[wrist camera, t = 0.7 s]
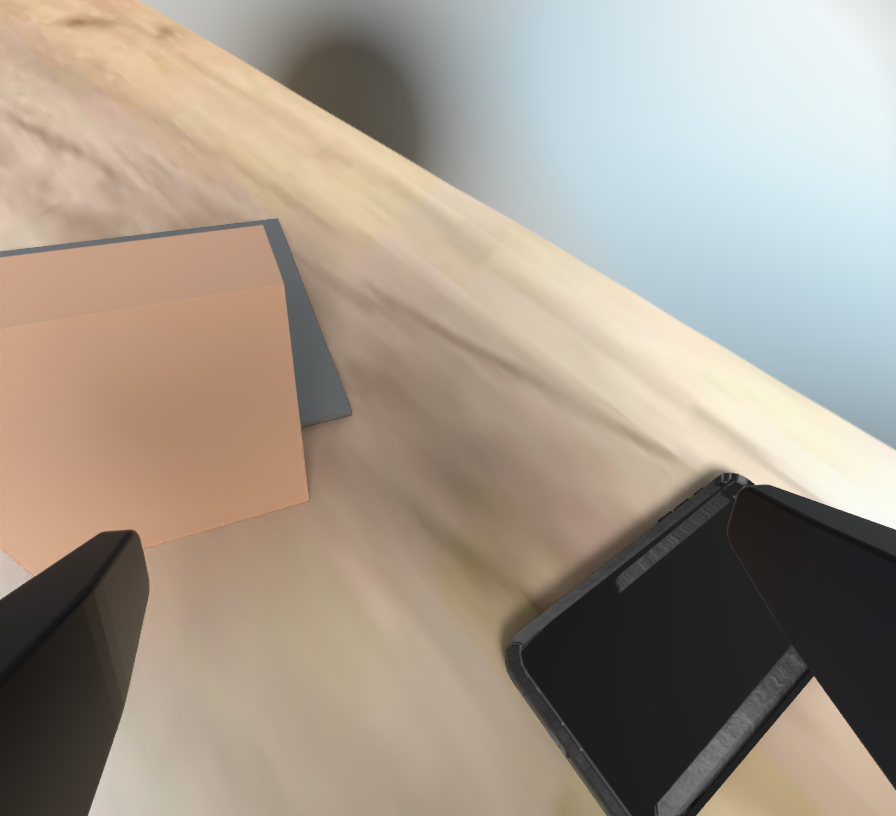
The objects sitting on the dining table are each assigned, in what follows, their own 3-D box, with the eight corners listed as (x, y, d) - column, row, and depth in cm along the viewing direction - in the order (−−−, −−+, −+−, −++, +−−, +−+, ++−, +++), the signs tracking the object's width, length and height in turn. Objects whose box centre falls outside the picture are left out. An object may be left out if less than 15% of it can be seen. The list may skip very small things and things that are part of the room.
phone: (878, 599, 24) (653, 867, 18) (860, 607, 25) (638, 865, 19) (731, 463, 28) (494, 645, 21) (719, 474, 29) (489, 653, 22)
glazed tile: (309, 500, 24) (283, 283, 15) (37, 579, 21) (-222, 363, 11) (294, 450, 26) (261, 221, 16) (36, 516, 22) (-197, 277, 13)
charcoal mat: (351, 414, 27) (351, 409, 27) (-57, 514, 22) (-63, 509, 21) (278, 223, 35) (277, 218, 35) (-37, 262, 29) (-41, 256, 29)
